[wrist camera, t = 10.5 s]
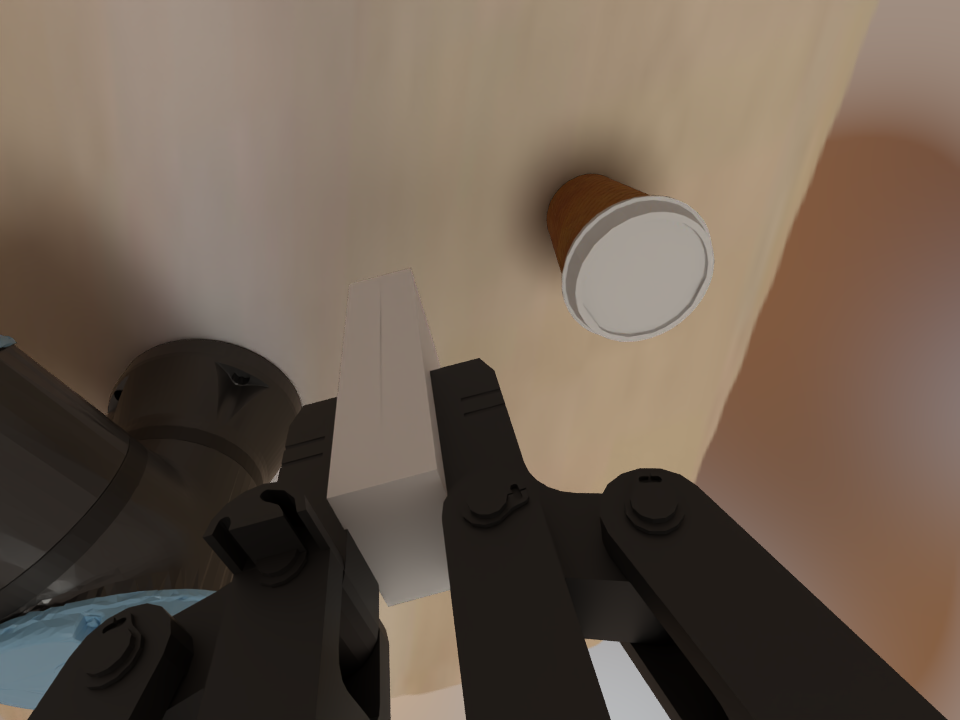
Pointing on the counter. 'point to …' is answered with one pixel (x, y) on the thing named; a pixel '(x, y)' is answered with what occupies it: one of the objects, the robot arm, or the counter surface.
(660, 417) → the counter surface
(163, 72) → the counter surface
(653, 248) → the disposable coffee cup
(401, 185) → the counter surface
